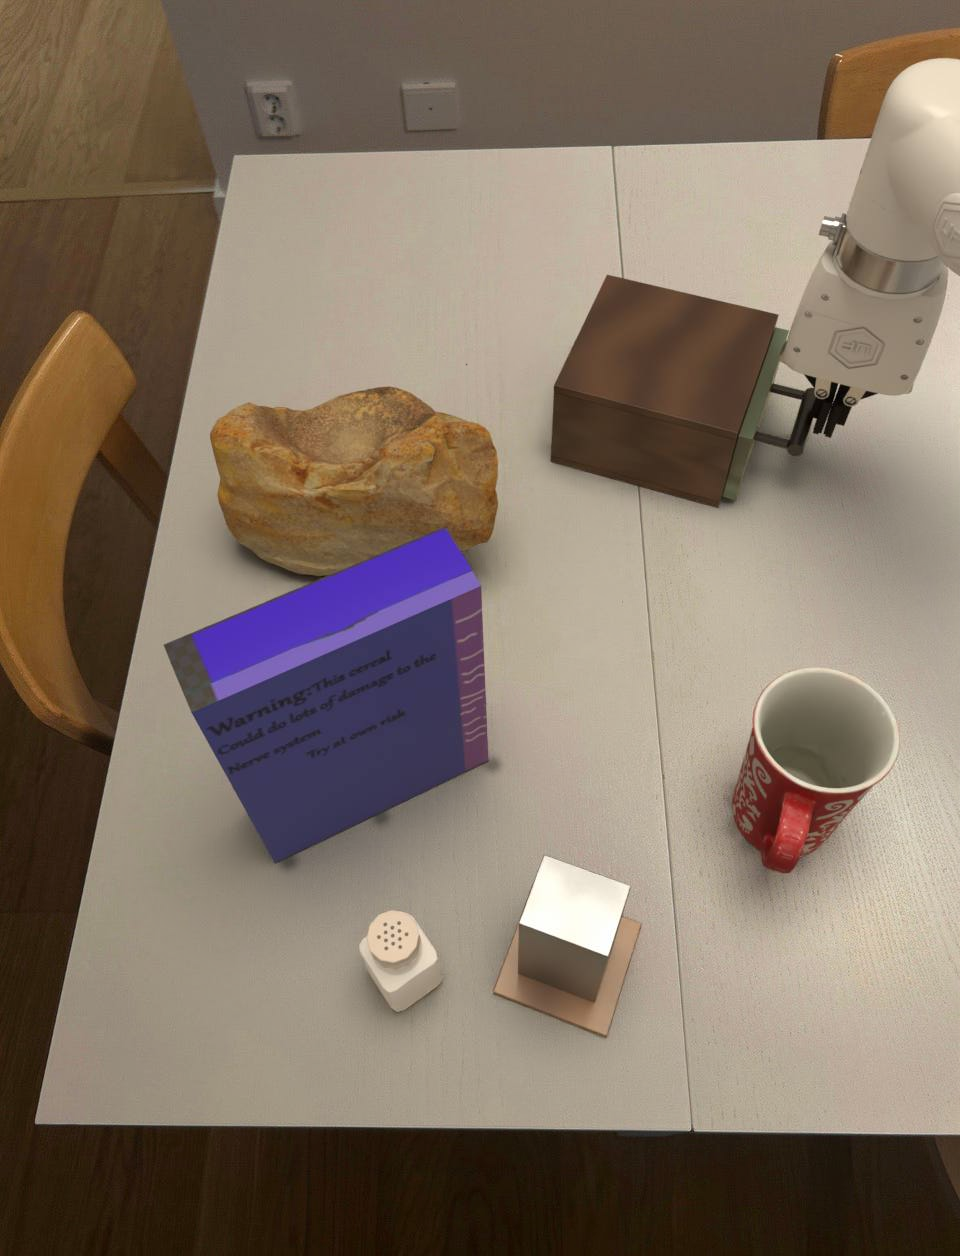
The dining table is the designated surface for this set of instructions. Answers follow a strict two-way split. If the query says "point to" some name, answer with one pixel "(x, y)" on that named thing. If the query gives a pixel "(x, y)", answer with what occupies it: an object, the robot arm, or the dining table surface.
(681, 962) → the dining table surface
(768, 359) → the drawer
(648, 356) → the cabinet
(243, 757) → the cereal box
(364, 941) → the pepper shaker
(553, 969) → the metal block
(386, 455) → the rough brown rock
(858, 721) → the mug
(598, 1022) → the plate
